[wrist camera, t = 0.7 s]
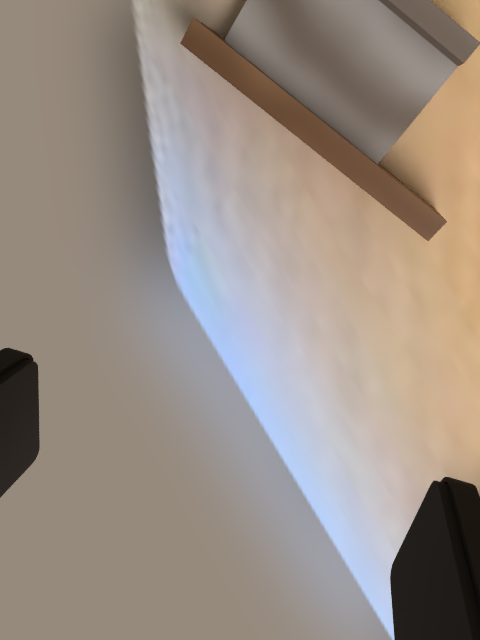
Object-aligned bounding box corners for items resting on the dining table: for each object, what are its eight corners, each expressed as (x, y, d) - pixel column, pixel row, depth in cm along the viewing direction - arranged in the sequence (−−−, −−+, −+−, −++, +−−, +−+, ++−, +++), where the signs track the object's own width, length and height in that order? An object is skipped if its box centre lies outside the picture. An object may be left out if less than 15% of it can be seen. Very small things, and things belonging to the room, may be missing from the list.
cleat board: (284, -103, 28) (274, -136, 24) (534, 106, 29) (559, 104, 25) (199, 52, 32) (180, 43, 29) (420, 228, 33) (428, 241, 30)
